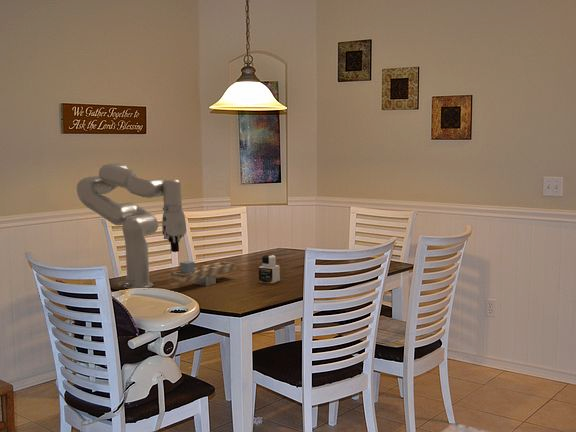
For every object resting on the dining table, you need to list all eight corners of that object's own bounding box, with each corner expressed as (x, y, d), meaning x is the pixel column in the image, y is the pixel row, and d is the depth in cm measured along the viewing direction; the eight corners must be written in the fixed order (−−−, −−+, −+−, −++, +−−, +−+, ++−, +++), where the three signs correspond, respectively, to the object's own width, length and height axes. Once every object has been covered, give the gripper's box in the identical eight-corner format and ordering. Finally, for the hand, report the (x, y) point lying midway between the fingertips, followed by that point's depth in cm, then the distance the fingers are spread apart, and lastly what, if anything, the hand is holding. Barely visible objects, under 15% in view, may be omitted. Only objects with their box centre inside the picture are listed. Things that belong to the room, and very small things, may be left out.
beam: (183, 282, 303) (183, 274, 303) (171, 280, 308) (171, 272, 308) (235, 270, 328) (235, 262, 327) (223, 268, 333) (223, 260, 332)
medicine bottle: (258, 282, 319) (258, 256, 318) (266, 279, 325) (265, 253, 324) (272, 283, 316) (272, 257, 314) (280, 280, 322) (279, 254, 320)
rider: (187, 275, 307) (187, 263, 306) (180, 273, 310) (179, 262, 309) (195, 273, 310) (194, 262, 310) (188, 272, 313) (187, 261, 312)
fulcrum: (206, 286, 313) (206, 277, 313) (193, 283, 318) (193, 275, 318) (216, 283, 318) (215, 274, 317) (203, 281, 323) (203, 272, 323)
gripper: (165, 210, 293) (167, 254, 295) (191, 207, 304) (193, 249, 306) (153, 210, 297) (155, 253, 299) (180, 206, 309) (182, 248, 311)
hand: (175, 251), depth 303 cm, fingers closed
